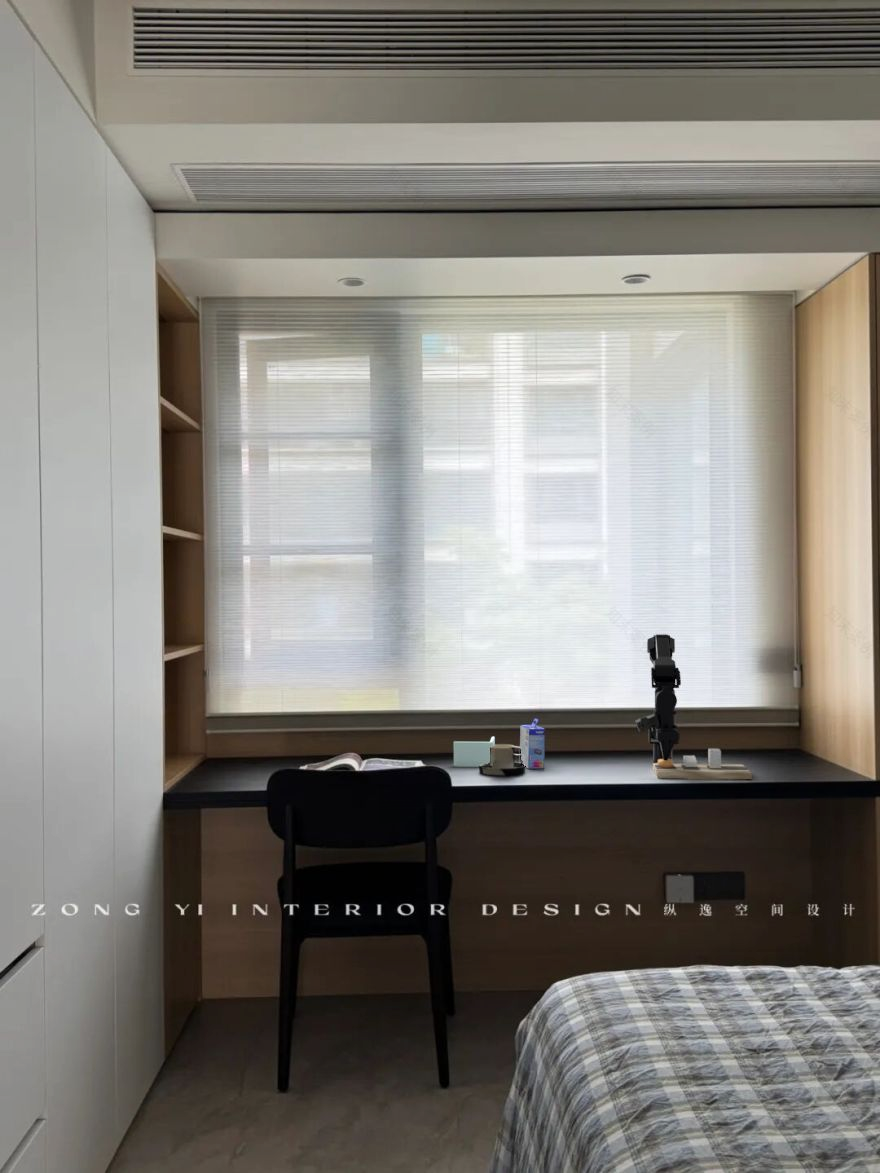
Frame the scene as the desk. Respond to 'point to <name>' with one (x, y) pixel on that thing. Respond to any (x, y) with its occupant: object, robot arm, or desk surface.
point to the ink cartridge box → (532, 745)
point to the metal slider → (714, 758)
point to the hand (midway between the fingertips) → (665, 760)
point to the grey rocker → (690, 761)
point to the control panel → (703, 771)
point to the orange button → (665, 763)
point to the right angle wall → (472, 753)
